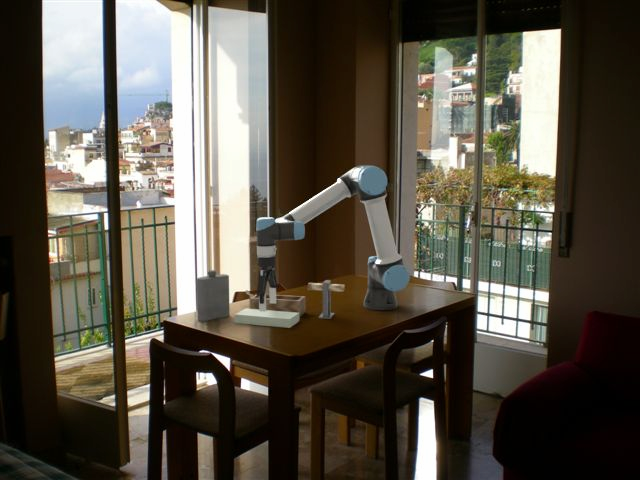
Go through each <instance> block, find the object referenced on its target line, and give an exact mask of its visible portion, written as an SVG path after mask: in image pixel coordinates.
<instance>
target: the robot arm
mask: <svg viewBox="0 0 640 480" xmlns="http://www.w3.org/2000/svg"><path fill="white" fill-rule="evenodd" d="M387 186H388V177H387V175H386V173H385V171H384V170H383V169H381V168H380V167H378V166H375V165H372V164H371V165H368V164H367V165H366V164H360V165H357V166H355V167H353V168H351V169H350V170H348V171H347V172H346V173H344V174H343V175H341V176H340V177H339V178H337V180H336V182H334V184H332V185H331V186H329V187H327V188H326V189H324V190H322V191H321V192H319V193H318V194H316V195H314V196H312V198H310V199H309V200H307V201H305V202H304V203H302V204H301V205H299V206H297V207H296V208H294V209H293V210H291V211H289V213H287V214H285V215H284V216H281V217H277V218H276V219H275V217H267V216H264V217H263V216H262V217H258V218H257V219H256V226H255V227H256V228H255V230H256V233H255V234H256V256H257V257H256V258H257V259H256V260H257V263H256V264H257V266H258V267H261V269H259V270H258V279H257V287H256V293H255V295H259V311H266V295H265V291H266V286H267V282H269V285H270V287H271V288H269V297H270V303H273V304H276V295H277V288H279V285H278V284H279V282H278V279H277V278H278V277H277V273H276V267H275V266H276V265H277V258H276V253H277V252H276V251H277V249H278V248H277V247H276V242H277V241H279V242H280V241H298V240H302V239H304V238H305V234H306V229H305V228H306V227H305V224H307V223H308V222H310V221H311V220H313V219H314V218H316V217H318V216H319V215H320V214H322V213H324V212H325V211H327V210H328V209H331V208H332V207H333V206H334V205H336V204H338V203H339V202H341V201H342V200H345V198H351V197H353V196H354V195H357V194H358V195H357V196H358V198H359V202H360V203H362V204H364V207H365V212H366V216H367V220H368V224H369V228H370V232H371V236H372V242H373V244H374V245H373V246H374V248H375V253H376V255H372V256H369V257H368V260H367V290H366V294H365V296H364V300H363V308H365V309H368V310H374V311H390V310H394V309H397V308H398V300H397V295H396V293H395V292H399V291H401V290H402V291H403V289H405V288H406V287H407V285H408V284H409V282H410V277H411V275H410V271H409V270H408V269H407V267H406V266H405V264H404V259H403V256H402V255H401V254H399V253H398V252H397V247H396V242H395V238H394V234H393V229H392V226H391V221H390V217H389V212H388V209H387V205H386V200H385V199H386V197H387V196H388V193H387ZM275 287H276V288H275Z"/></svg>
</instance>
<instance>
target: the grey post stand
mask: <svg viewBox="0 0 640 480" xmlns="http://www.w3.org/2000/svg"><path fill="white" fill-rule="evenodd" d="M322 284H323V291H322V312H321V314H320V315H319V316H318V319H329V320H331V319H332V318H333V316H335V312H331V291H328V284H332V283H331V280H330V279H326V280H324V281H323V282H322Z"/></svg>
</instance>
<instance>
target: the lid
mask: <svg viewBox="0 0 640 480" xmlns="http://www.w3.org/2000/svg"><path fill="white" fill-rule="evenodd" d="M299 322H300V317H299V313H296V312H284V311H271V310H266V311H259V309H250V308H243V309H242V310H240V311H238V312H235V314H234V324H243V325H255V326H265V327H268V326H269V327H276V328H288V329H289V328H292V327H293V326H295V325H296V324H297V323H299Z"/></svg>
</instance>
